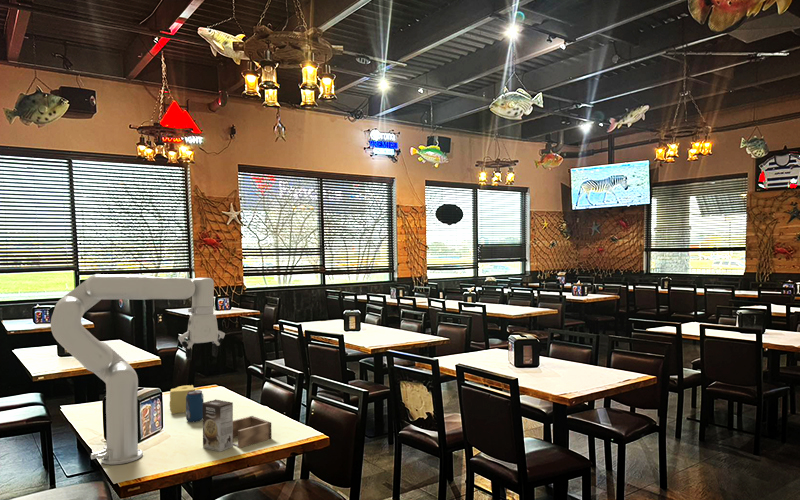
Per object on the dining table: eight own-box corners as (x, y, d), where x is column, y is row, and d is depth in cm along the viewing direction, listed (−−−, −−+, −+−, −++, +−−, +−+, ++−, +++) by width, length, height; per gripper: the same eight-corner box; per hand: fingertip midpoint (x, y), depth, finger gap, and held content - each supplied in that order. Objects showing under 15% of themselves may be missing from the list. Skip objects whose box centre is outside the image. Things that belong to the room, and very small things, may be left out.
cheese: (169, 408, 248) (169, 386, 248) (194, 405, 253) (194, 384, 253) (170, 414, 239) (170, 391, 239) (196, 411, 243) (196, 389, 244)
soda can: (206, 418, 232) (206, 390, 232) (199, 423, 225) (198, 394, 226) (191, 418, 233) (190, 389, 233) (183, 422, 226) (182, 393, 226)
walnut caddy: (239, 447, 195) (239, 431, 195) (221, 439, 204) (220, 423, 204) (271, 438, 204) (271, 422, 204) (252, 431, 214) (252, 415, 214)
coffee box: (202, 448, 195) (201, 402, 196) (216, 442, 201) (215, 398, 201) (219, 452, 191) (219, 406, 191) (233, 446, 196) (233, 401, 197)
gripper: (183, 313, 193) (182, 361, 192) (229, 310, 205) (228, 356, 204) (175, 311, 198) (174, 359, 198) (220, 309, 210) (219, 353, 210)
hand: (202, 357), depth 201 cm, fingers open, 9 cm apart
